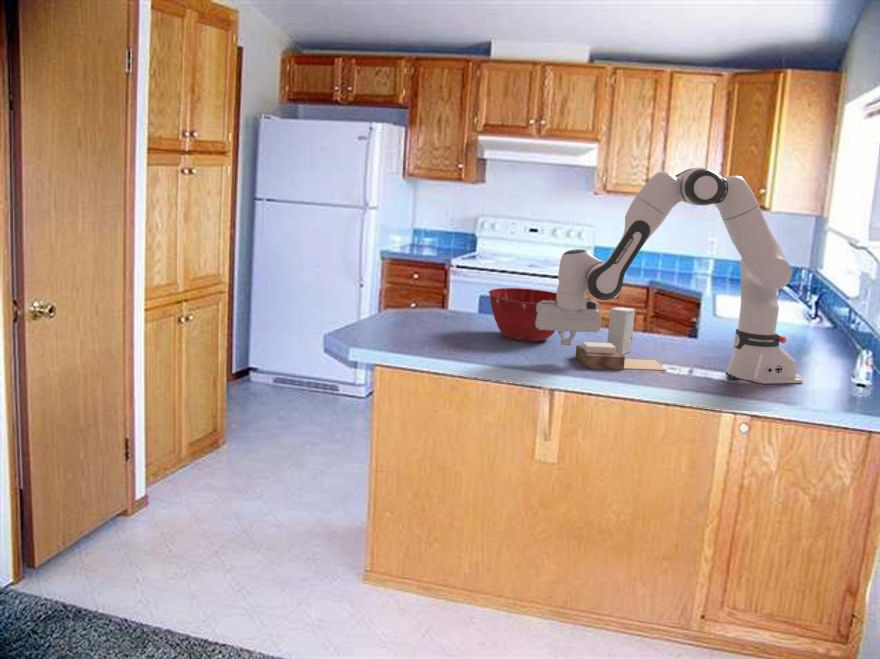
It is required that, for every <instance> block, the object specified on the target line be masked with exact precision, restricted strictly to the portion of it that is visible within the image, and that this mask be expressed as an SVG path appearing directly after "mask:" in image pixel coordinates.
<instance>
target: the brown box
mask: <svg viewBox="0 0 880 659" xmlns="http://www.w3.org/2000/svg"><path fill="white" fill-rule="evenodd" d="M582 347H583V344H576V347H575V358H576V359H577V360H578V362H579V363H580V364H581V365H582V366H583V367H584V368H585V369H594V370H596V369H597V370H598V369H601V370H619V371H621V370H623V371H624V370H625V369H624V361H625V359H626V357H625V356H624V354H623V355H622V354H621V353H620V352H619V351H617V350H616V351H615V354H609V353H587V352H586V351H585V350H584V349H583V348H582Z"/></svg>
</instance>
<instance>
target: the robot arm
mask: <svg viewBox="0 0 880 659" xmlns="http://www.w3.org/2000/svg"><path fill="white" fill-rule="evenodd" d="M680 202H685V203H686V204H687V203H688V204H690V205H693V206H711V205H714V206H715V207H716V208H717V209H718V212H719V213H720V217H721V218H722V222H723V224H724V226H725V228H726V231H727V233H728V235H729V237H730V240H731V242H732V244H733V245H734V247H735V249H736V250H737V252H738V254H739V256H740V257H741V260H740V263H739V266H740V267H739V268H740V307H739V308H740V309H739V310H740V311H739V316H738V323H737V328H736V329H735V333H734V341H733V347H734V349H733V351H732V356H731V359H730V362H729V365H728V367H727V369H726V371H725V372H727V373H728V374H727V375H729V374H730V375H729V376H731V375H732V376H731V377H734V376H735V377H734V378H737V379H741V380H746V381H750V382H755V383H758V384H765V385H766V384H798V383H799V384H803V382H804V380H803V377H802V376H801V375H799V374H797V365H796V361H795V359H794V358H793V357H792V356H791V355H790V354H789V353H788V352H787V351H786V350H784V349H783V347H782V346H780V343H782V344H786V343H787V341H788V340H787V337H786V336H783V335H779V334H777V332H776V330H777V326H778V325H777V324H778V316H779V312H780V311H779V310H780V309H779V308H780V307H779V304H778V302H779V301H778V290H781V289H783V288H785V287H786V286H787V285H788V284H789V283H790V281H791V279H792V275H793V270H792V268H791V265H790V263H789V262H788V260H787V258H786V256H785V254H784V252H783V251H782V248H781V247H780V245H779V243H778V242H777V239H776V238H775V236H774V234H773V233H772V232H771V230H770V228H769V226H768V223H767V221H766V218H765V215H764V214H763V211H762V209H761V207H760V204H759V202H758V199H757V198H756V196H755V194H754V192H753V190H752V189H751V187H750V186H749V184H748V183H747V181H746V180H745V178H744V177H743V176H740V175H730V176H726V177H723V176H721V175H720V174H719V173H717V172H716V171H714V170H712V169H709V168H706V167H701V166H700V167H693V168H688V169H686V170H683V171H682V172H680V173H678V174H675V175H673V174H672V173H670V172H668V171H667V172H666V171H658V172H657V173H655V174H654V175H653V176H651V178H650V179H649V180H648V181H647V182H646V183H645V184H644V185H643V187H642V188H641V189H640V190H639V191H638V193H637V194H636V195H635V197H634V199H633V200H632V202H631V203H630V205H629V206H628V207H629V208H628V210H627V211H626V213H625V216H624V230H623V233H622V234H623V235H622V237H621V239H620V240H619V242H618V243H617V245H616V247H615V248H614V249H613V251H612V253H611V254H610V255H609V257H608V259H607V260H606V261H603V260H601V259H598V258H597V257H595V256H594V255H592V254H591V253H589V252H588V250H586V249H578V248H577V249H570V250H567V251H565V252H564V253H563V254H562V256H561V258H560V262H559V266H558V267H559V268H558V276H557V279H558V286H557V289H556V293H557V295H556V301H553V300H549V301H547V300H542V301H540V302H538V304H537V307H536V312H537V316H536V322H535V326H536V327H537V328H538V329H539V330H555V332H556V331H557V333H558V335H559V337H560V345H561V346H572V340H573V339H574V338H575V337H576V334H577V333H595V334H597V333H599V332H600V331H601V324H602V318H601V317H602V316H601V313H600V311H599V309H600V303H598V302H597V301H596V300H600V301H609V300H612V299H614V298H616V296H618V295H619V294H620V292H621V290H622V287H623V284H624V278H625V274H626V272H627V271H628V269H629V267H630V266H631V264H632V262H633V261H634V260H635V258H636V256H637V255H638V254H639V252H640V250H641V249H642V248H643V246H644V245H645V244H646V242H647V241H648V240H649V239H650V238H651V237H652V235H653V234H654V233H655V232H656V231H657V229H658V228H660V227H661V225H662V224H663V222H664V221H665V219H666V218H667V217H668V215H669V214H670V212H671V211H672V209H674V207H675V206H676V205H678V203H680ZM587 291H588V292H589V294H590V295H591V296H592V297H594V298H595V299H596V300H594V299H592V298H590V297H586V292H587ZM541 302H542V303H541ZM565 332H569V333H570V335H569V336H568V338H564V336H563V335H564V334H565Z"/></svg>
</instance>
